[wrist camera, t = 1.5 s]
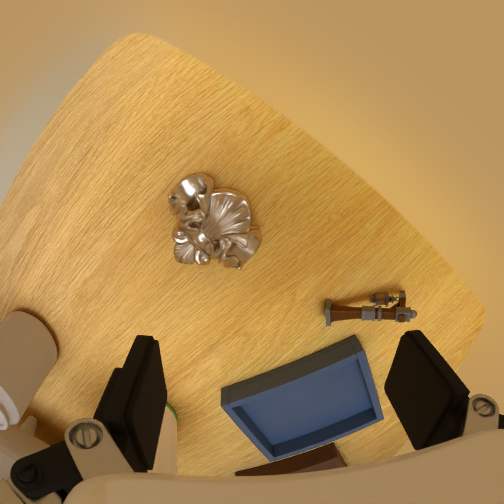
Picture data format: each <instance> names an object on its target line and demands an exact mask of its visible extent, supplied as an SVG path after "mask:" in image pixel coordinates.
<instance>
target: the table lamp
mask: <svg viewBox="0 0 504 504" xmlns="http://www.w3.org/2000/svg"><path fill="white" fill-rule="evenodd" d="M36 425H37V419H36V418H35V417H33V416H31V415H30V416H29V417H28V418H27V419H26V420H25V421H24V422H23V423H22V425H21V426H20V427H19V428H17V427H15V426H12V425H8V428H7V429H6V430H0V480H1V479H2V478H4V479H5V480H7V479H8V478H9V477H10V471H11V468H12V466H13V464H14V463H15V462H16V461H17V460H19V459H20V458H23V457H25V456H28V455H30V454H33V453H36V452H38V451H41V450H43V449H46V448H48V447H50V445H48V444H46V443H45V442H43V441H42V440H40V439H38V438H36V437H34V433H35V429H36Z"/></svg>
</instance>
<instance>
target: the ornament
mask: <svg viewBox="0 0 504 504" xmlns="http://www.w3.org/2000/svg"><path fill="white" fill-rule="evenodd" d="M168 198H169V204H170V212H171V214H172V215H176V220H177V221H178V223H179V225H177V226H176V227H175V228H174V230H173V232H172V238H173V240H174V241H175V242H176V243H178V244H175V246H174V256H175V259H176V261H177V262H179V263H183V264H193V263H194V261H195V262H196V263H197V264H199V265H207V264H209V263H210V259H211V256H212V259H213V260H218V259H219V260H218V262H219V263H224V267H225V268H226V269H227V268H230V267H233V268H235V269H239V270H241V269H242V267H243V266H244V264H245V263H246V262H247V261H248V260H249V259H250V258H251V257H252V256H253V255H254V254H255V252H256V251H257V250H258V248H259V247H260V245H261V242H262V234H261V232H260V231H258V230H257V229H258V226H250V225H251V211H250V206H249V202H248V200H247V198H246V197H245V196H244V195H243V194H242V193H240V192H238V191H236V190H233V189H229V188H218V189H214V179H213V178H209V176H207V175H205V174H203V173H194V174H191V175H188V176H187V177H185V178H184V179H182V180H181V181H180V182H179V183H178V184H177V185H176V186H175V187H174V188H173V189H172V190H171V192H170V193H169V194H168ZM197 202H198V203H199V209H196V210H195V206H196V204H197ZM194 210H195V211H194ZM218 240H219V244H218Z"/></svg>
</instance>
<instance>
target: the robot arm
mask: <svg viewBox="0 0 504 504" xmlns="http://www.w3.org/2000/svg"><path fill="white" fill-rule="evenodd" d="M384 389H385V393H386V395H387V396H388V398H389V400H390V402H391V404H392V406H393V408H394V410H395V412H396V414H397V416H398V418H399V420H400V422H401V423H402V425H403V427H404V429H405V431H406V433H407V435H408V437H409V439H410V441H411V443H412V445H413V447H414V449H415V450H417V451H414V452H411V453H407V454H403V455H399V456H395V457H391V458H387V459H383V460H378V461H374V462H369V463H364V464H359V465H354V466H348V467H342V468H336V469H329V470H322V471H314V472H305V473H295V474H283V475H267V476H196V475H179V474H162V473H147V472H148V470H153V467H154V461H155V456H156V451H157V446H158V441H159V436H160V431H161V426H162V421H163V417H164V412H165V407H166V403H167V389H166V384H165V378H164V372H163V367H162V361H161V354H160V348H159V342H158V340H154V339H153V336H145V335H137V336H136V338H135V340H134V343H133V345H132V347H131V349H130V352H129V354H128V356H127V359H126V361H125V363H124V365H123V368H115V369H114V371H113V373H112V375H111V377H110V380H109V382H108V384H107V386H106V389H105V391H104V393H103V396H102V398H101V400H100V403H99V405H98V407H97V410H96V412H95V414H94V417H93V419H92V418H82V419H78V420H76V421H74V422H72V423H71V424H70V425H69V426H68V427H67V429H66V431H65V436H64V437H65V441H62V442H60V443H58V444H55V445H53V446H50V447H48V448H46V449H43V450H41V451H38V452H36V453H33V454H30V455H28V456H25V457H23V458H20V459H19V460H17V461H16V462H15V463H14V464H13V466H12V468H11V471H10V477H9V478H8V479H7V480H5V479H4V478H2V479H1V480H0V504H504V415H501V414H499V407H498V405H497V403H496V402H495V401H494V399H492V398H491V397H489V396H486V395H483V394H477V395H474V396H472V397H471V398H469V397H468V395H469V393H470V391H469V390H468V389H467V387H466V386H465V385H464V383H463V382H462V381H461V379H460V378H459V377H458V376H457V374H456V373H455V372H454V371H453V369H452V368H451V367H450V366H449V364H448V363H447V362H446V361H445V359H444V358H443V357H442V356H441V355H440V353H439V352H438V351H437V350H436V348H435V347H434V346H433V345H432V344H431V342H430V341H429V340H428V339H427V338H426V337H425V335H424V334H423V333H422V332H421V331H420V330H413V331H407V332H405V334H404V335H402V336H401V339H400V342H399V345H398V348H397V351H396V354H395V357H394V360H393V363H392V366H391V368H390V371H389V374H388V377H387V379H386V382H385V386H384Z"/></svg>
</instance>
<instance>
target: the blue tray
mask: <svg viewBox="0 0 504 504" xmlns="http://www.w3.org/2000/svg"><path fill="white" fill-rule="evenodd" d="M221 407H222V408H223V409H224V411H225V412H226V413H227V414H228V415H229V416H230V418H231V419H232V420H233V421H234V422H235V423H236V425H237V426H238V427H239V428H240V429H241V430H242V431H243V433H244V434H245V435H246V436H247V437H248V438H249V439H250V440H251V442H252V443H253V444H254V445H255V446H256V447H257V448H258V449H259V450H260V451H261V452H262V453H263V455H264V456H265V457H266V458H267V459H268V460H269V461H270V462H272V461H275V460H279V459H282V458H285V457H288V456H292V455H295V454H298V453H301V452H304V451H307V450H310V449H313V448H316V447H318V446H321V445H324V444H326V443H329V442H332V441H334V440H337V439H339V438H342V437H344V436H347V435H349V434H352V433H354V432H356V431H359V430H361V429H363V428H366V427H368V426H370V425H372V424H374V423H377V422H379V421H381V420H383V419H384V417H383V413H382V409H381V406H380V402H379V398H378V395H377V391H376V388H375V384H374V381H373V378H372V374H371V371H370V367H369V364H368V361H367V358H366V354H365V351H364V349H363V347H362V345H361V344H360V342H359V340H358V338H357V337H356V335H353V336H351V337H349V338H347V339H345V340H343V341H341V342H338V343H336V344H334V345H332V346H330V347H327V348H325V349H323V350H320V351H318V352H316V353H314V354H311V355H309V356H307V357H304V358H302V359H299V360H297V361H294V362H292V363H290V364H287V365H285V366H282V367H279V368H277V369H274V370H272V371H269V372H267V373H264V374H261V375H259V376H256V377H253V378H250V379H248V380H245V381H242V382H239V383H236V384H233V385H230V386H227V387H224V388H222V389H221Z"/></svg>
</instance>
